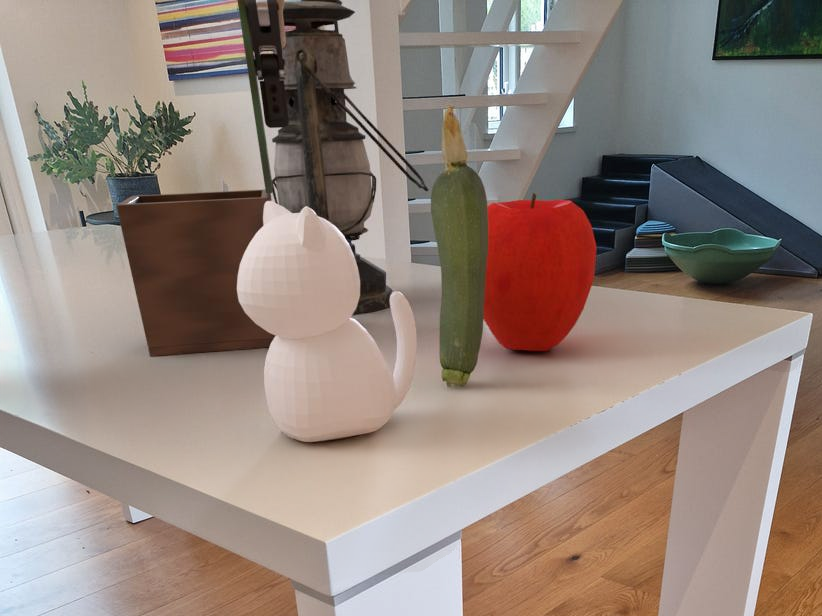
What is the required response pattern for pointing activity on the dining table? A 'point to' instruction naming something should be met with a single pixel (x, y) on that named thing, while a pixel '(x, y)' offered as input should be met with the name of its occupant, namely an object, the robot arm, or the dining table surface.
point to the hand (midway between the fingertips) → (277, 127)
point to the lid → (255, 96)
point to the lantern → (327, 138)
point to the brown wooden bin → (192, 268)
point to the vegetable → (460, 255)
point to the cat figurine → (319, 330)
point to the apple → (537, 271)
